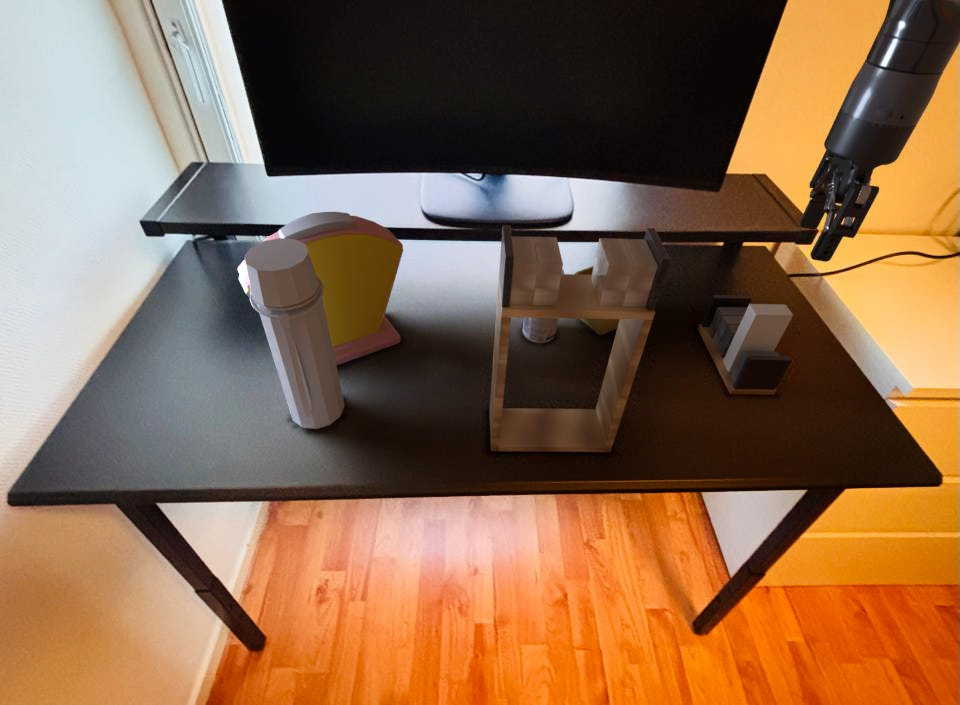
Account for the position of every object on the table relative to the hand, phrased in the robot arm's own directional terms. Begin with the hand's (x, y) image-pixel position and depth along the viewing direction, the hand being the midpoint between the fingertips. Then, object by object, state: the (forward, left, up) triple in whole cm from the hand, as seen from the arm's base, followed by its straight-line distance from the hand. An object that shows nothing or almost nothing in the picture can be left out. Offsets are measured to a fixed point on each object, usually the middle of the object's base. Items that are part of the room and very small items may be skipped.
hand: (812, 242), depth 69 cm
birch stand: (+11, +34, -21) cm, 42 cm away
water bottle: (+33, +56, -22) cm, 69 cm away
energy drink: (+26, +20, -22) cm, 40 cm away
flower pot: (+21, +10, -22) cm, 32 cm away
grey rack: (+2, +1, -21) cm, 22 cm away
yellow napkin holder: (+44, +46, -22) cm, 68 cm away
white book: (0, +3, -20) cm, 21 cm away
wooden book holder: (+11, +34, +1) cm, 36 cm away
